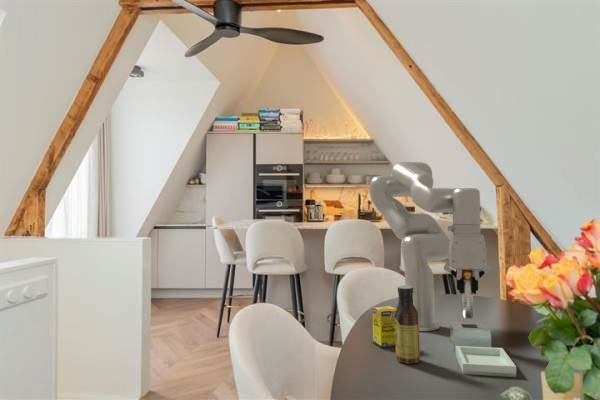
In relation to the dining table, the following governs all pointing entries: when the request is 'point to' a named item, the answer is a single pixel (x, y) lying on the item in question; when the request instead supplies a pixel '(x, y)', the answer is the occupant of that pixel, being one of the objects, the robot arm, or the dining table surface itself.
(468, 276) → the pin
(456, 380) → the dining table surface
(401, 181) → the robot arm
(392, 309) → the supplement box
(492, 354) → the tray
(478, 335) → the block
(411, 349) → the sauce bottle
